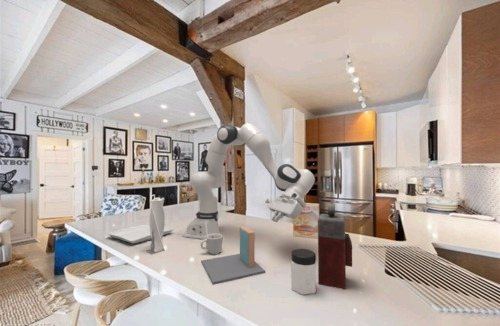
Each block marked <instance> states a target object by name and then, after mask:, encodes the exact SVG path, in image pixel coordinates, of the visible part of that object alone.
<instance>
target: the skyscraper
mask: <svg viewBox="0 0 500 326" xmlns="http://www.w3.org/2000/svg"><path fill="white" fill-rule="evenodd" d="M152 197H153V199H152ZM149 203H150V213H149V223H148V224H149V226H150V236H151V239H150V240H151V243H150V246H149V249H146V250H145V251H146V252H147V253H149V254H150V255H155V254H158V253H162V252H165V250H166V249H165V248H164V244H163V236H164V235H163V232H164V227H166V225H165V223H166V222H165V219H166V218H165V211H164V203H165V197H162V198H161V197H156V194H152V195H151V196H150V197H149Z"/></svg>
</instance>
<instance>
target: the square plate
mask: <svg viewBox="0 0 500 326" xmlns="http://www.w3.org/2000/svg"><path fill="white" fill-rule="evenodd" d="M174 229H175V228H171V227H167V226H164V232H163V236H165V235H168V234H170V233H172V232H173V231H174ZM106 234H107V235H108V236H109V237H111V238H115V239H117V240H120V241H124V242H127V243H129V244H139V242H140V243H144V242H146V240H147V241H149V239H150V240H151V236H150V226H149V223H146V224H141V225H135V226H130V227H126V228H122V229H118V230H114V231H111V232H110V231H109V232H107V233H106Z"/></svg>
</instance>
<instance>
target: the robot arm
mask: <svg viewBox="0 0 500 326" xmlns="http://www.w3.org/2000/svg"><path fill="white" fill-rule="evenodd" d="M245 145H246V147H247V148H248V149H249V150H250V151H251V152H252V153H253V154H254V155H255V157H256V158H257V159H258V160H259V161H260V162H261V163H262V165H263V166H264V167H265V169H266V171H268V173H269V175H270V176H271V177H272V178H273V180H274V184H275V187H276V188H277V190H279V191H281V192H283V193H282V194H281V195H280V196H276V197H275V198H274V199H273V200H272V201H271V202H270V203H269V205H268V209H269V210H270V211H271V212H272V213H273V216H272V217H271V220H272V221H273V222H275V223H278V222H279V221H280V220H281V219H283V218H284V217H286V218H289V219H292V220H293V219H295V218H297V217H298V216H299V214H300V213H301V212H302V210H303V208H305V207H306V205H307V204H306V203H307V202H305V200H304V198H305V195H306V194H308V193H309V191H310V190H311V189H312V188H313V186H314V183H315V181H316V178H315V176H314V174H313V172H311V171H312V170H310V169H307V168H298V167H295V166H293V165H291V164H289V163H283V164H281V165H280V166H279V164H278V163H277V162H276V160H275V159H274V157H273V154H272V149H271V143H270V141H269V140H268V138H267V136H266V135H265V134H264V133H263V132H262V131H261V130H260V128H258V127H257V126H256V125H255V124H252V123H250V122H247V123H244V124H243V125H241V127H239V126H233V125H229V124H225V125H222V126H220V127H219V128H218V130H217V132H216V133H215V134H214V135H213V137H212V139H211V141H210V144H209V146H208V150H207V153H206V157H205V163H206V165H207V166H208V167H207V171H199V172H195V173H193V174H192V175H191V177H190V179H189V180H190V182H189V183H190V186H191V188H192V189H194V190H195V192H196V193H197V197H198V202H199V211H197V212H196V213H195V216H196V218H194V219H193V220H192V221H190V223H188V225H187V228H186V230H185V231H184V232H183V233H182V237H184V238H189V239H190V238H192V239H199V240H204V239H206V236H207V235H209V234H221V232H220V228H219V211H218V198H217V196H215V195H214V194H213V193H214V192H213V190H214V189H219V188H221V187H223V186H224V185H225V183H226V177H225V175H224V169H223V168H224V163H225V159H226V155H227V153H228V149H229V148H230V147H231V146H232V147H233V146H234V147H242V146H245Z"/></svg>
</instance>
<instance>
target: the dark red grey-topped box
mask: <svg viewBox="0 0 500 326" xmlns="http://www.w3.org/2000/svg"><path fill="white" fill-rule="evenodd" d="M335 208H336V206H335V203H328V204H327V213H321V214H320V213H319V219H318V239H317V257H318V258H317V259H318V260H317V261H318V262H317V263H318V264H317V265H318V269H317V270H318V272H317V273H318V274H317V276H318V278H317V279H318V281H317V282H318V285H319V286H320V285H321V286H326V287H331V288H335V287H336V289H340V288H341V289H342V290H346V289H347V286H346V285H347V283H346V282H347V279H346V277H347V274H346V267H351V268H352V267H353V244H352V239H351V237H350V233H346V220H345V219H346V218H345V215H343V214H336V209H335Z"/></svg>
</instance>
